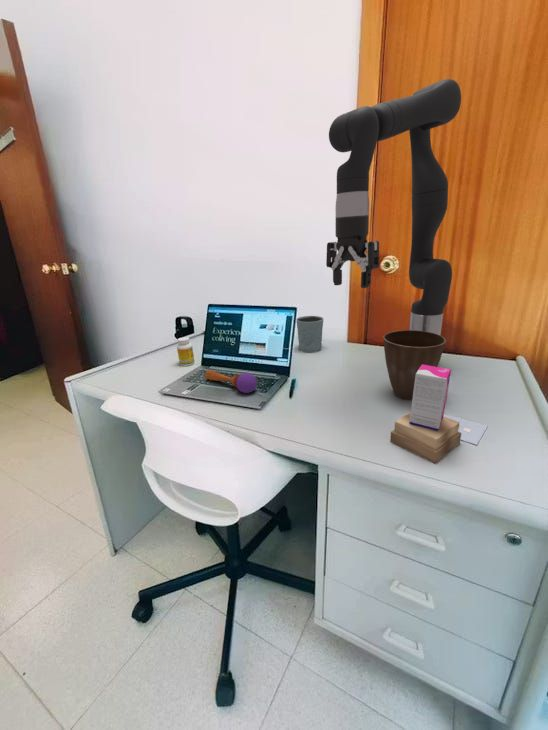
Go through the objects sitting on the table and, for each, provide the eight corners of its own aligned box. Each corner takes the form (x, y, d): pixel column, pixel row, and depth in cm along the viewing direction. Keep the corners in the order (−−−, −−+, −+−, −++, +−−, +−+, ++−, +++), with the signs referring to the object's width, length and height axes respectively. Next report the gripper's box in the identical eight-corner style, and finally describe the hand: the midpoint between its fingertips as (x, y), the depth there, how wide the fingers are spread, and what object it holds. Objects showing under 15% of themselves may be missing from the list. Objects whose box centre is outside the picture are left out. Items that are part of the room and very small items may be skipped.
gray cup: (296, 353, 130) (294, 322, 126) (298, 344, 139) (297, 315, 135) (323, 353, 128) (323, 321, 124) (323, 344, 138) (323, 315, 133)
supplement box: (439, 431, 68) (447, 378, 64) (408, 424, 71) (413, 373, 67) (444, 418, 72) (451, 368, 68) (415, 412, 75) (420, 363, 71)
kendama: (215, 364, 113) (261, 372, 100) (216, 382, 114) (261, 392, 101) (201, 367, 109) (246, 376, 96) (201, 385, 110) (246, 396, 97)
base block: (415, 424, 80) (417, 405, 78) (459, 443, 72) (463, 422, 71) (390, 441, 74) (391, 421, 72) (434, 463, 67) (437, 441, 65)
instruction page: (432, 411, 85) (432, 410, 85) (487, 426, 77) (487, 425, 77) (418, 427, 79) (418, 425, 79) (476, 445, 71) (477, 444, 71)
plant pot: (396, 378, 104) (400, 326, 98) (447, 391, 94) (455, 335, 88) (369, 395, 95) (372, 339, 89) (423, 412, 85) (430, 351, 79)
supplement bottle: (180, 362, 128) (175, 337, 125) (194, 360, 129) (191, 335, 126) (179, 367, 123) (175, 341, 120) (194, 365, 124) (191, 339, 121)
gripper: (388, 212, 76) (384, 286, 82) (339, 216, 86) (339, 282, 92) (367, 213, 72) (364, 291, 78) (318, 217, 82) (319, 286, 88)
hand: (350, 286), depth 85 cm, fingers open, 8 cm apart
